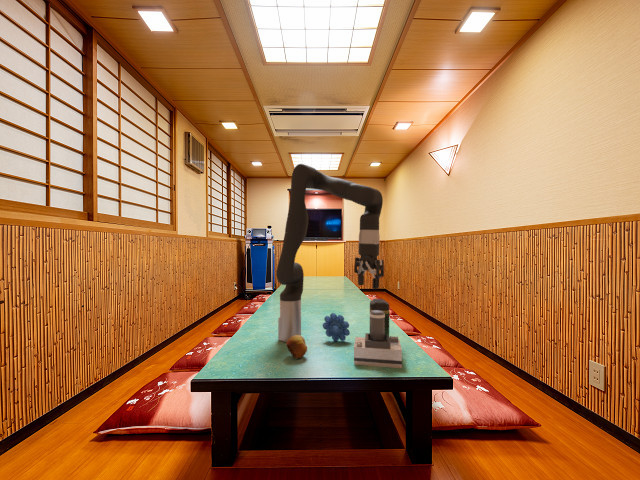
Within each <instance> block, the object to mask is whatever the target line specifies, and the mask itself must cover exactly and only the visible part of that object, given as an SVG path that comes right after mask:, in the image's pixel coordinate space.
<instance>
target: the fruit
mask: <svg viewBox="0 0 640 480" xmlns="http://www.w3.org/2000/svg"><path fill="white" fill-rule="evenodd" d="M285 345H286V348H287V349H288V351H289V353H290V355H291V356H293V358H294V359H297V360H298V359H300V358H303V357H304V356H305V355H306V354H307V352H308V345H307V344H306V339H305V338H304V336H302V335H301V336H300V335H294V336H292V337H291V338H290V339H289V340H288V341H287V342H285Z"/></svg>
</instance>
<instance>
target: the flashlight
mask: <svg viewBox="0 0 640 480" xmlns="http://www.w3.org/2000/svg"><path fill="white" fill-rule="evenodd" d="M384 317H385V314H384V312H383V311H380V310H373V311H371V312H370V311H369V333H370V340H377V341H384Z"/></svg>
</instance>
